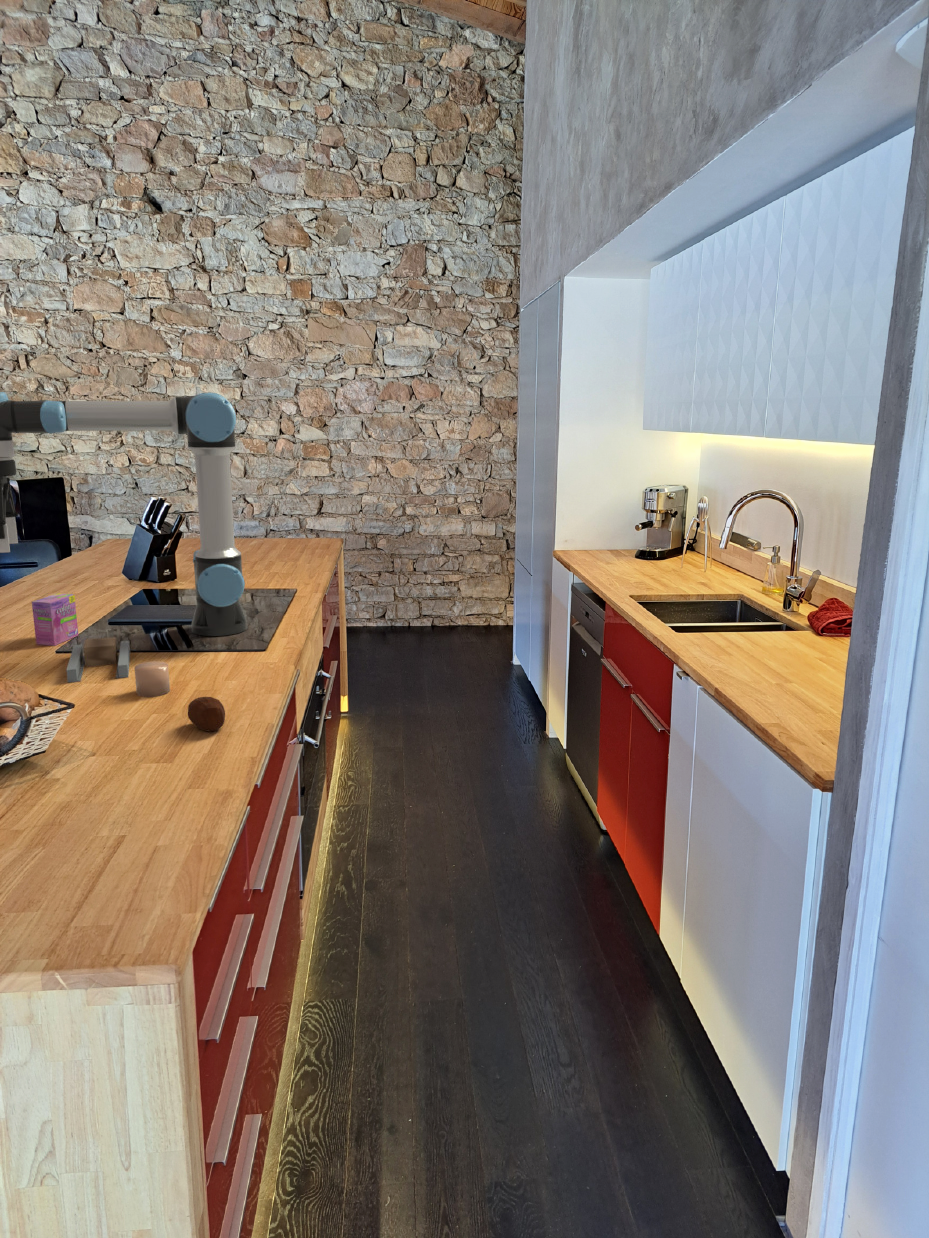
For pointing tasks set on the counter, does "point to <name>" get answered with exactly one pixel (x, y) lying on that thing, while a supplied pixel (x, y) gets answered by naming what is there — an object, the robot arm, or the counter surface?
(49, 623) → the box
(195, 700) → the potato
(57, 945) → the counter surface
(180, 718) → the counter surface
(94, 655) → the block
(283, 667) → the counter surface
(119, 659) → the chute
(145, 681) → the marshmallow
